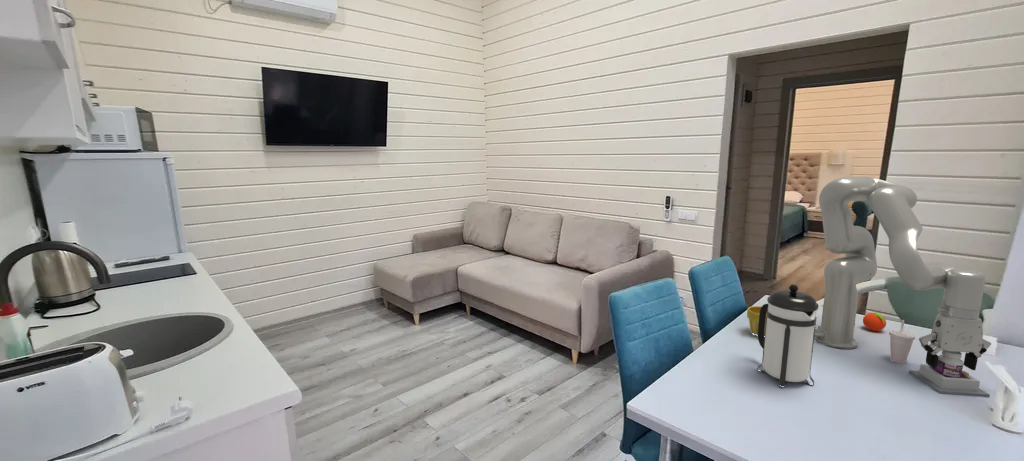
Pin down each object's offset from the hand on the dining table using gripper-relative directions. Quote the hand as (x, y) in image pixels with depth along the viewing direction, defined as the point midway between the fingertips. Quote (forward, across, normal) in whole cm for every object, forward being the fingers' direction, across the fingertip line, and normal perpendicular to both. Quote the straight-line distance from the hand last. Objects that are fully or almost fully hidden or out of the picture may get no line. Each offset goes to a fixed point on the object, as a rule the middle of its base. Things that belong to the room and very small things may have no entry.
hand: (950, 366), depth 124 cm
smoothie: (+6, -4, +14) cm, 16 cm away
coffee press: (+6, -46, -2) cm, 46 cm away
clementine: (+6, +4, +40) cm, 41 cm away
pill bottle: (+5, 0, 0) cm, 5 cm away
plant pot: (+6, -40, +30) cm, 50 cm away
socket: (+6, 0, 0) cm, 6 cm away
